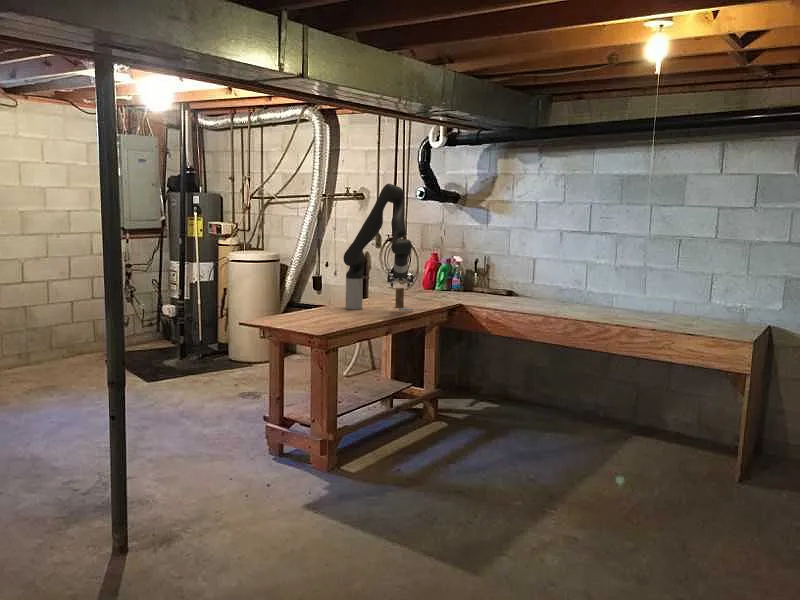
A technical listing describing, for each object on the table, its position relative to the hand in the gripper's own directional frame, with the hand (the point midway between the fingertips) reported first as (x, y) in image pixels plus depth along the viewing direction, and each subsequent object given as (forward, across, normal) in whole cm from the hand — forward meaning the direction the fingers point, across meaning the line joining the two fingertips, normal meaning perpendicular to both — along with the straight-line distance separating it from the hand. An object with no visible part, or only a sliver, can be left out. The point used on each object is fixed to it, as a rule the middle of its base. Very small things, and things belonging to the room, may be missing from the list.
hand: (400, 286), depth 369 cm
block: (+16, 0, +3) cm, 16 cm away
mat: (+10, -4, +8) cm, 14 cm away
